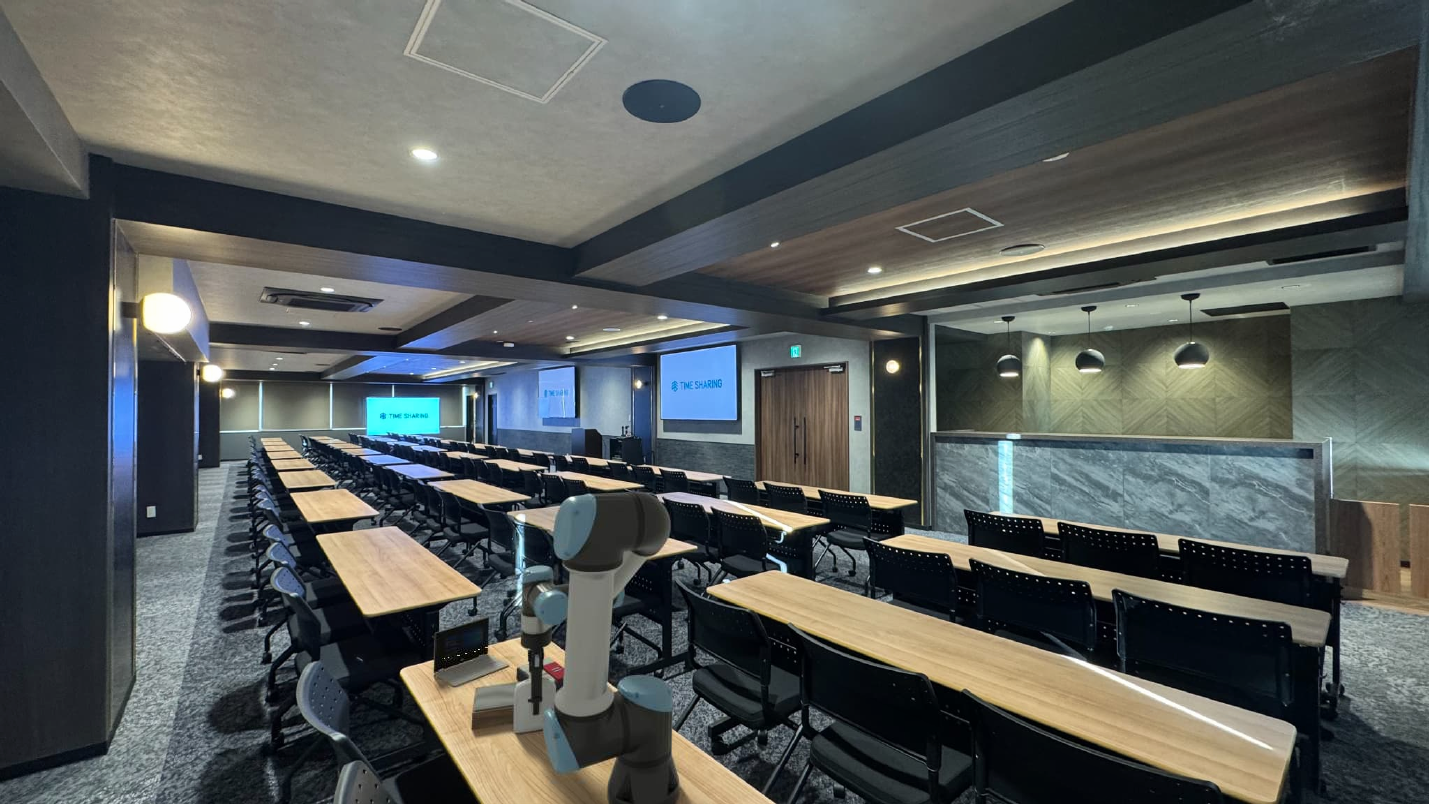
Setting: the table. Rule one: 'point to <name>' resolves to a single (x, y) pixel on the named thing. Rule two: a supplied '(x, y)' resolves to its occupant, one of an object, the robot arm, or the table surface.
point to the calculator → (544, 672)
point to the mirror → (493, 705)
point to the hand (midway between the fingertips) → (534, 711)
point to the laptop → (460, 643)
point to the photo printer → (523, 706)
